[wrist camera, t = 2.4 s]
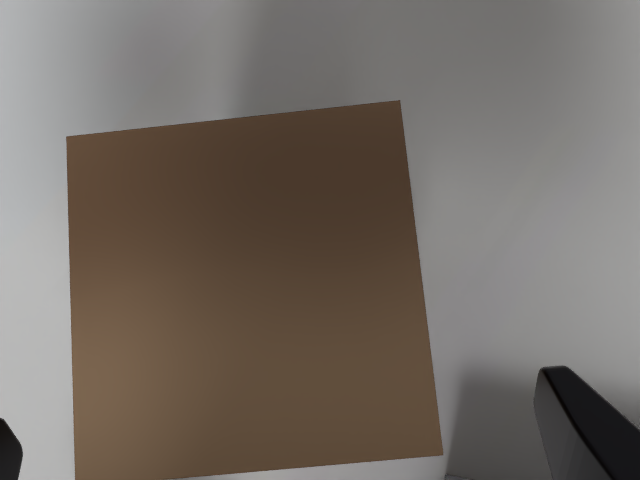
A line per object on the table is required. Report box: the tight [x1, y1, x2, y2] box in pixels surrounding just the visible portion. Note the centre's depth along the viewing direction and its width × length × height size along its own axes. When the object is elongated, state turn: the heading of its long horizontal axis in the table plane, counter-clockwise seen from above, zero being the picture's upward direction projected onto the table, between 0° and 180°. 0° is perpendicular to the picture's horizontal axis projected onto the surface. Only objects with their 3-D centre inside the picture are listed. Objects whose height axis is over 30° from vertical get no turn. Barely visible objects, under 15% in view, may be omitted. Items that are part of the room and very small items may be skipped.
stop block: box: [66, 100, 443, 480], centre depth 14 cm, size 5×5×11 cm
